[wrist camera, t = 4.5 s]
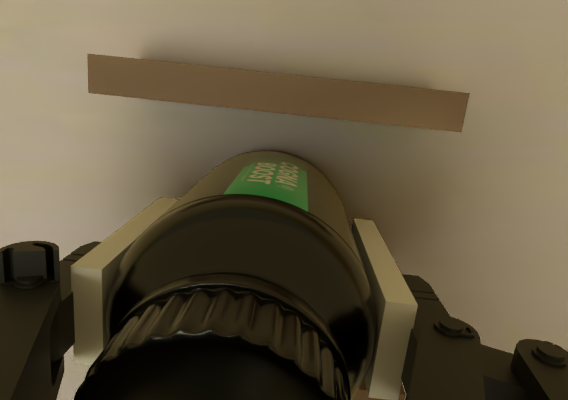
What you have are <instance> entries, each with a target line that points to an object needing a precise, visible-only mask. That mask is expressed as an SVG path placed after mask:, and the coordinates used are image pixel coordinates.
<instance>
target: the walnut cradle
mask: <svg viewBox="0 0 568 400" xmlns="http://www.w3.org/2000/svg"><path fill="white" fill-rule="evenodd" d="M88 91H89V93H94V94H104V95H113V96H123V97H132V98H142V99H151V100H161V101H170V102H180V103H189V104H199V105H208V106H218V107H227V108H237V109H246V110H256V111H265V112H275V113H284V114H294V115H303V116H313V117H322V118H332V119H341V120H351V121H360V122H370V123H379V124H389V125H398V126H408V127H417V128H427V129H436V130H445V131H455V132H461V131H462V127H463V122H464V117H465V112H466V108H467V103H468V98H469V94H470V93H462V92H452V91H442V90H433V89H423V88H413V87H404V86H394V85H385V84H375V83H365V82H356V81H346V80H336V79H327V78H317V77H307V76H298V75H288V74H278V73H269V72H259V71H249V70H240V69H230V68H221V67H211V66H201V65H192V64H182V63H172V62H163V61H153V60H143V59H134V58H124V57H114V56H105V55H95V54H88ZM404 399H405V392H404V389H403V386H402V385H401V390H400V394H399V399H398V400H404ZM352 400H386V399H377V398H368V393H367V388H366V384H365V380H364V381H363V383H362V385H361V387H360V388H359V390H358V392H357V393H356V395H355V396H354V398H353V399H352Z"/></svg>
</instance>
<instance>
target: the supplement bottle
mask: <svg viewBox="0 0 568 400" xmlns="http://www.w3.org/2000/svg"><path fill="white" fill-rule="evenodd" d="M106 335H107V342H108V343H107V345H106V347H105V348H104V349H103V351H102V352H101V353H100V355H99V356H98V357H97V359H96V360H95V361H94V363H93V364H92V365H91V367H90V368H89V370H88V372H87V375H86V377H85V380H84V381H83V383H82V384H81V385H80V387H79V388H78V390H77V392H76V394H75V397H74V400H352V399H353V398H354V396H355V395H356V393H357V392H358V390H359V388H360V387H361V385H362V383H363V381H364V380H365V377H366V375H367V373H368V371H369V368H370V366H371V362H372V359H373V356H374V351H375V346H376V338H377V315H376V308H375V302H374V298H373V293H372V290H371V286H370V282H369V279H368V276H367V273H366V271H365V268H364V265H363V262H362V259H361V256H360V253H359V250H358V247H357V244H356V242H355V239H354V236H353V233H352V230H351V227H350V224H349V221H348V218H347V215H346V213H345V210H344V207H343V205H342V202H341V200H340V198H339V196H338V194H337V192H336V190H335V189H334V187H333V186H332V184H331V183H330V182H329V181H328V179H327V178H326V177H325V176H324V175H323V174H322V173H321V172H320V171H319V170H317V169H316V168H315V167H313V166H312V165H311V164H309V163H307V162H306V161H304V160H302V159H300V158H297V157H295V156H292V155H289V154H286V153H281V152H275V151H255V152H249V153H245V154H241V155H238V156H236V157H233V158H231V159H229V160H227V161H225V162H223V163H222V164H220V165H219V166H217V167H216V168H215V169H213V170H212V171H211V172H210V173H208V174H207V175H206V176H205V177H204V178H203V179H201V180H200V181H199V182H198V183H197V184H196V185H195V186H194V187H192V188H191V189H190V190H189V191H188V192H187V193H186V194H185V195H183V196H182V197H181V198H180V199H179V200H178V201H177V202H176V203H175V204H173V205H172V206H171V207H170V208H169V209H168V210H167V211H166V212H164V213H163V214H162V215H161V216H160V217H159V218H158V219H157V220H156V221H154V222H153V223H152V224H151V225H150V226H149V227H148V228H147V229H146V230H145V231H144V232H143V233H142V234H141V235H140V236H139V237H138V238H137V240H136V241H135V242H134V243H133V245H132V246H131V247H130V248H129V250H128V251H127V252H126V254H125V255H124V257H123V259H122V260H121V262H120V264H119V266H118V268H117V270H116V272H115V274H114V277H113V280H112V283H111V285H110V289H109V293H108V298H107V305H106Z"/></svg>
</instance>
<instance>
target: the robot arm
mask: <svg viewBox="0 0 568 400" xmlns="http://www.w3.org/2000/svg"><path fill="white" fill-rule="evenodd" d="M178 200H179V199H172V198H163V197H160V198H159V199H158V200H156V201H155V202H154V203H152V204H151V205H150V206H149V207H147V208H146V209H145V210H143V211H142V212H141V213H139V214H138V215H137V216H135V217H134V218H133V219H132V220H130V221H129V222H128V223H126V224H125V225H124V226H122V227H121V228H120V229H118V230H117V231H116V232H115V233H113V234H112V235H111V236H109V237H108V238H107V239H105V240H104V241H103V242H92V243H89V244H86V245H83V246H80V247H79V248H78V249H76V250H75V251H73V252H72V253H71V255H68V256H66V257H65V258H64V259H63V260H61V261H59V246H57V245H56V244H54V243H50V242H46V241H27V242H20V243H15V244H11V245H8V246H5V247H2V248H1V249H0V400H56V398H57V395H58V391H59V388H60V384H61V381H62V377H63V373H64V354H65V353H66V352H67V350H68V349H69V348H70V347H71V346H72V345H74V363H75V364H84V365H92V364H93V363H94V361H95V360H96V359H97V357H98V356H99V355H100V353H101V352H102V351H103V349H104V348H105V347H106V345H107V343H108V342H107V335H106V305H107V298H108V293H109V289H110V285H111V283H112V280H113V277H114V274H115V272H116V270H117V268H118V266H119V264H120V262H121V260H122V259H123V257H124V255H125V254H126V252H127V251H128V250H129V248H130V247H131V246H132V245H133V243H134V242H135V241H136V240H137V238H138V237H139V236H140V235H141V234H142V233H143V232H144V231H145V230H146V229H147V228H148V227H149V226H150V225H151V224H152V223H153V222H154V221H156V220H157V219H158V218H159V217H160V216H161V215H162V214H163V213H164V212H166V211H167V210H168V209H169V208H170V207H171V206H172V205H173V204H175V203H176V202H177V201H178ZM352 233H353V236H354V239H355V242H356V244H357V247H358V250H359V253H360V256H361V259H362V262H363V265H364V268H365V271H366V273H367V276H368V279H369V282H370V286H371V290H372V293H373V298H374V302H375V308H376V315H377V338H376V346H375V351H374V356H373V359H372V362H371V366H370V368H369V371H368V373H367V375H366V377H365V384H366V388H367V393H368V398H377V399H386V400H398V399H399V394H400V390H401V385H402V382H403V385H404V388H405V391H406V394H407V395H406V399H405V400H568V352H567V351H566V350H564V349H563V348H562V347H560V346H558V345H553V343H550V342H547V341H540V340H533V339H524V340H521V341H519V342H518V343H517V345H516V348H515V351H514V354H511V353H508V352H504V351H501V350H497V349H494V348H491V347H488V346H485V345H482V344H480V337H479V335H478V333H477V331H476V330H475V329H474V328H472V327H471V326H470V325H468V324H467V323H465V322H463V321H461V320H459V319H456V318H453V317H450V316H449V314H448V312H447V311H446V309H445V308H444V306H443V305H442V303H441V302H440V301H439V298H438V297H437V295H436V294H435V292H434V291H433V289H432V288H431V286H430V285H429V284H428V283H427V282H426V281H424V280H423V279H421V278H420V277H419V276H412V275H403V274H401V272H400V270H399V269H398V267H397V265H396V263H395V261H394V259H393V257H392V255H391V254H390V252H389V250H388V248H387V246H386V244H385V242H384V240H383V238H382V237H381V235H380V233H379V231H378V229H377V227H376V225H375V223H374V222H373V220H364V219H355V218H354V219H353V225H352Z"/></svg>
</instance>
